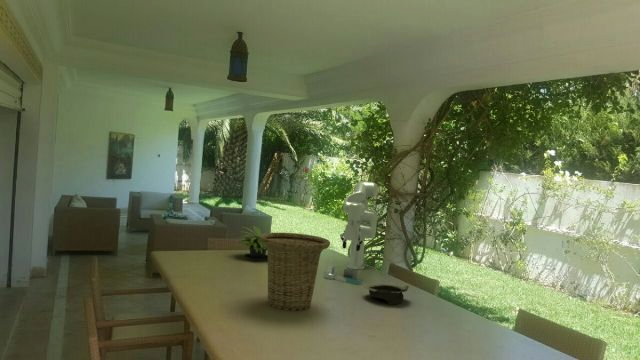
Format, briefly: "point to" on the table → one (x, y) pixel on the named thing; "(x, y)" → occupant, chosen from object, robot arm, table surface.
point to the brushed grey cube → (350, 273)
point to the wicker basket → (292, 268)
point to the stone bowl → (387, 292)
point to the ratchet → (332, 275)
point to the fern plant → (254, 247)
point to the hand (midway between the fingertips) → (351, 249)
